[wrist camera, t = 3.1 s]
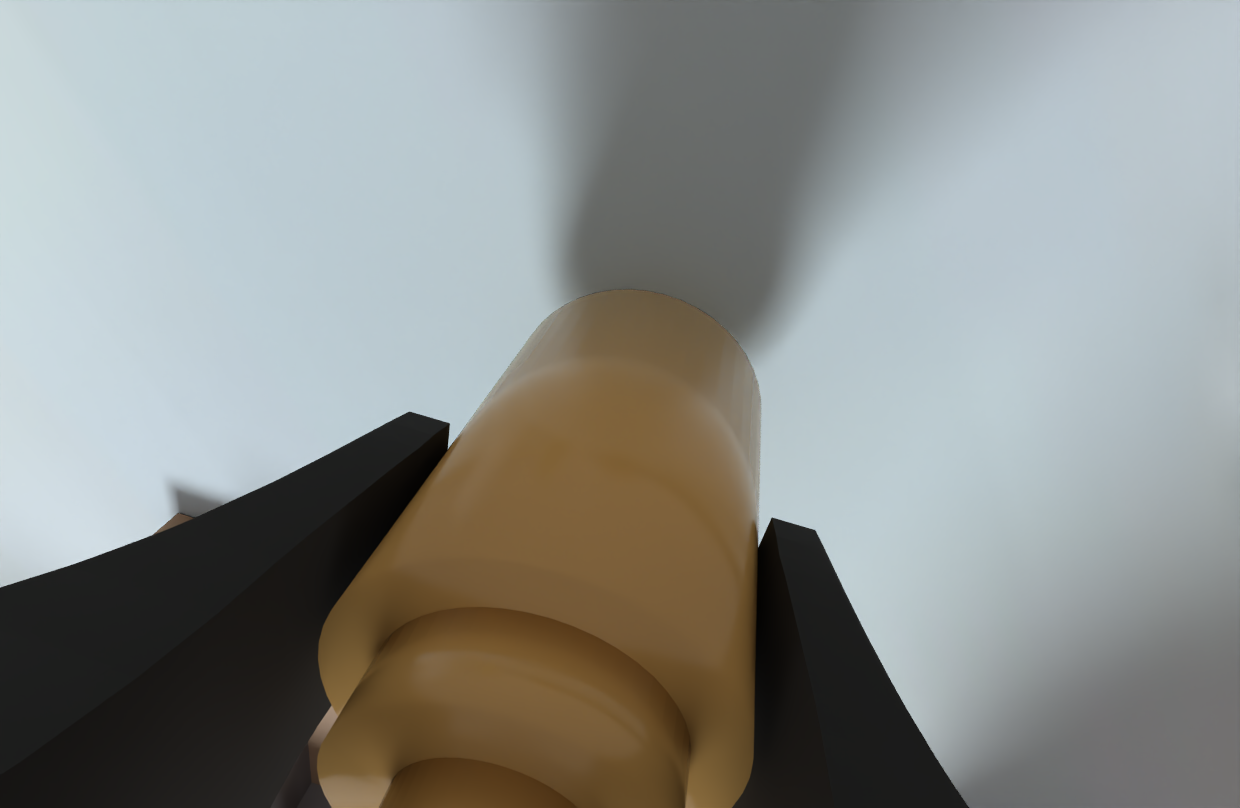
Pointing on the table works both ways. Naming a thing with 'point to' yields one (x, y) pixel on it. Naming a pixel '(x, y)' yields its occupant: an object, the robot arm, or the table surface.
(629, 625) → the amber bottle
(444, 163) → the table surface
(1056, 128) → the table surface
